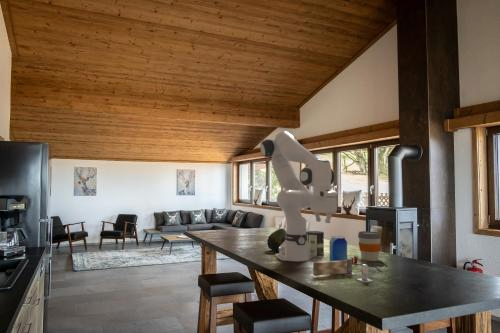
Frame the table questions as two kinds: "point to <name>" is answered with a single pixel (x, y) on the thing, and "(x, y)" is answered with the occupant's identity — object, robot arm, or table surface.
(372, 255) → the reusable coffee cup
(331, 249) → the beer can
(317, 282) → the table surface
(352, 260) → the glasses
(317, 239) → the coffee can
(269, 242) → the squash
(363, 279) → the gate frame
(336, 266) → the gate
